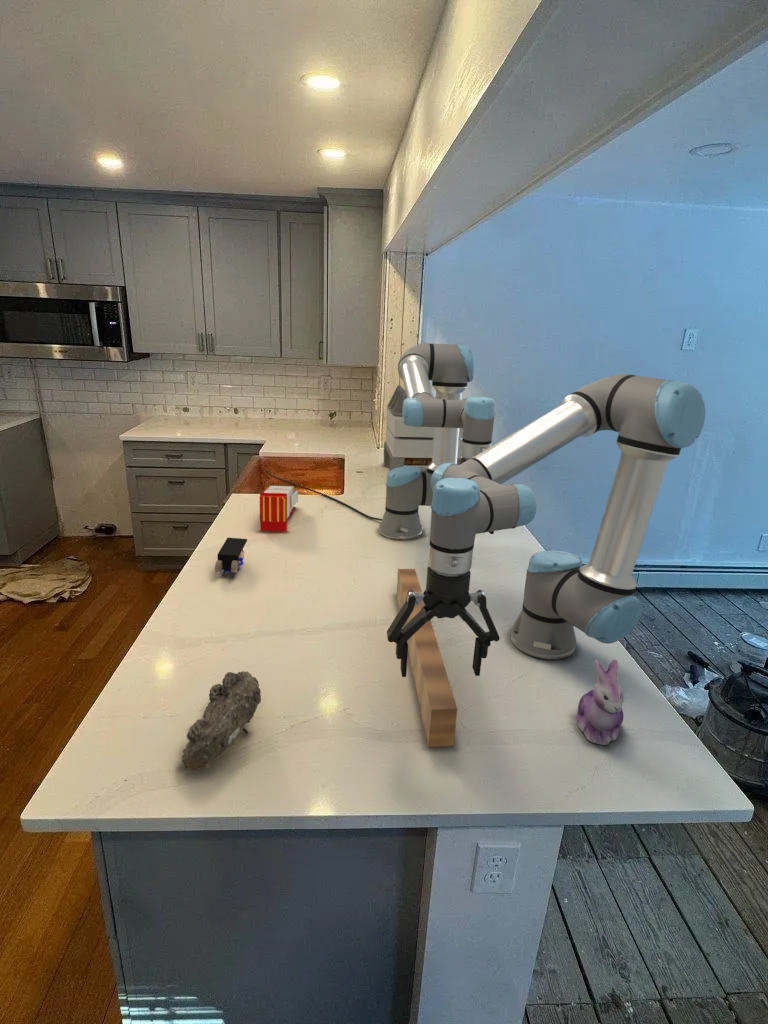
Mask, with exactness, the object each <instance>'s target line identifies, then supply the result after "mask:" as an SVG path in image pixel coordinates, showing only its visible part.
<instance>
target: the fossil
mask: <svg viewBox="0 0 768 1024" xmlns="http://www.w3.org/2000/svg"><path fill="white" fill-rule="evenodd" d="M261 693H262V691H261V688H260V684H259V680H258V679H257V677H256V676H253V675H252V674H251V673H250V672H249V671H243V670H242V671H238V672H233V671H228V672H226V673H225V674H224V677H223V678H222V684H221V683H217V684H213V685H212V686H211V688H210V689H209V693H208V697H209V699H208V700H209V702H208V703H207V706H206V707H205V710H204V712H203V714H202V719H196V721H195V722H194V723H193V724H192V725H191V726H190V727H189V730H188V732H187V734H186V739H187V740H188V743H187V744H186V746H185V748H183V750H182V755H181V758H182V759H181V761H182V766H183V768H188V769H189V770H190V771H194V770H198V769H204V768H205V769H209V768H210V767H211V766H212V765H213V764H214V763H215V762H216V761H217V760H218V759H219V758H221V756H222V755H223V754H224V753H225V752H226V751H227V750H228V749H229V748H230V747H231V746H232V745H234V743H235V742H236V740H237V737H238V736H240V734H241V733H242V732H243V733H244V734H245V735H248V734H249V731H248V730H247V729H246V728H245V727H246V724H248V723H250V722H251V720H252V719H253V717H254V716H255V713H256V711H257V710H258V709H257V708H258V706H259V704H261V702H262V695H261Z"/></svg>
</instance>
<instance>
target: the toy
mask: <svg viewBox="0 0 768 1024" xmlns="http://www.w3.org/2000/svg"><path fill="white" fill-rule="evenodd" d="M294 486H295V485H270V486H268V488H267V489H265V490H264V492H259V526H260V528H259V529H260V531H259V532H279V533H281V532H283V533H287V532H288V518H289V517H290V516H291V515H293V514H294V512H295V510H296V508H297V507H296V506H295V505H296V504H298V503H299V490H298V489H297V490H295V491H294Z"/></svg>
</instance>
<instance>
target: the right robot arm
mask: <svg viewBox="0 0 768 1024" xmlns="http://www.w3.org/2000/svg"><path fill="white" fill-rule="evenodd" d="M705 421H706V403H705V401H704V399H703V396H702V393H701V392H700V390H698V388H696V387H695V386H694V385H693V384H690V383H686V382H681V381H677V380H675V379H665V378H664V379H663V378H656V377H648V376H642V375H641V376H640V375H635V374H628V373H624V374H615V375H610V376H606V377H604V378H601V379H598V380H595V381H593V382H591V383H588V384H586V385H584V386H583V387H580V388H578V389H577V390H575V391H573V392H571V393H570V394H568V395H566V396H565V397H564V398H563V399H562V400H561V403H560V405H558V406H557V407H555V408H554V409H552V410H550V411H549V412H547V413H545V414H543V415H542V416H540V417H538V418H537V419H535V420H533V421H531V422H530V423H528V424H527V425H525V426H523V427H522V428H520V429H518V430H517V431H515V432H513V433H511V434H510V435H508V436H506V437H504V438H503V439H501V440H499V441H498V442H496V443H494V444H493V445H491V447H489V448H488V449H486V450H484V451H483V452H481V453H479V454H478V455H476V456H474V457H473V458H471V459H469V460H467V461H465V462H464V463H462V464H460V465H458V464H455V463H454V464H453V463H444V464H442V465H440V466H439V467H438V468H437V469H436V470H435V471H434V473H433V475H432V478H431V487H432V491H433V499H432V505H431V506H430V510H431V511H430V512H431V513H430V527H429V528H430V529H429V543H428V553H427V568H426V580H425V589H424V591H423V592H422V594H421V593H414V591H413V590H409V591H408V592H407V597H406V601H405V603H404V604H403V606H402V608H401V609H400V610H399V611H398V613H397V614H396V616H395V617H394V619H393V620H392V622H391V624H390V625H389V627H388V628H387V631H386V636H387V637H386V638H387V642H389V643H394V644H396V645H395V655H396V656H395V657H396V659H397V660H400V673H401V678H407V671H408V657H409V653H408V643H407V641H408V640H409V639H410V638H411V637H412V636H413V635H414V634H415V633H416V632H417V631H418V630H419V629H420V628H421V627H422V626H423V625H424V624H425V623H426V622H427V621H430V620H431V621H432V620H433V618H435V617H436V618H437V619H444V618H448V619H455V618H456V617H458V616H459V617H460V619H461V620H462V621H463V622H465V624H466V625H467V626H468V627H469V628H470V630H471V631H472V632H473V633H474V635H476V637H475V639H474V640H475V641H474V647H473V648H474V649H473V658H472V666H471V667H472V670H473V673H474V675H475V677H480V675H481V669H482V667H481V666H482V660H483V659H487V657H488V652H489V647H490V646H491V644H492V643H491V642H498V641H500V639H501V637H500V635H499V632H498V631H497V628H496V626H495V623H494V621H493V618H492V616H491V615H490V612H489V609H488V607H487V597H486V595H485V593H484V591H483V589H478V590H476V592H471V593H470V585H471V576H472V572H471V569H472V566H473V565H472V564H473V554H474V547H475V540H476V535H478V534H485V533H489V532H490V531H494V532H497V531H502V530H509V529H511V530H513V529H516V528H518V527H519V528H520V527H523V526H527V525H529V524H531V522H532V521H533V520H534V518H535V516H536V513H537V512H536V511H537V499H536V495H535V493H534V491H532V489H531V488H530V487H529V486H527V485H525V484H521V483H520V484H518V483H517V484H514V483H510V484H508V485H507V484H504V483H506V482H508V481H510V480H511V479H513V478H514V477H516V476H518V475H519V474H521V473H523V472H524V471H525V470H527V469H530V467H532V466H534V465H536V464H537V463H538V462H540V461H542V460H544V459H546V458H547V457H548V456H550V455H552V454H553V453H555V452H557V451H558V450H560V449H562V448H563V447H565V446H567V445H568V444H570V443H572V442H573V441H575V440H576V439H577V438H580V437H583V438H587V437H591V436H592V435H594V434H596V433H597V432H601V431H613V432H616V433H618V435H617V439H616V441H615V442H616V443H615V444H616V445H617V447H618V448H619V450H620V452H621V453H620V457H619V460H618V464H617V467H616V470H615V475H614V477H613V481H612V484H611V488H610V491H609V494H608V497H607V502H606V504H605V507H604V511H603V514H602V518H601V521H600V525H599V528H598V532H597V534H596V538H595V542H594V545H593V548H592V551H591V556H590V558H589V561H588V562H587V563H585V564H584V563H583V560H582V557H580V556H579V555H578V554H574V553H572V552H568V551H562V550H544V551H539V552H536V553H534V554H533V555H531V556H530V558H529V561H528V565H527V568H526V574H525V584H524V592H523V600H522V607H521V609H520V612H519V614H518V616H517V618H516V619H515V622H514V623H513V625H512V627H511V629H510V630H511V631H510V641H511V643H512V644H513V646H514V647H515V648H517V650H519V651H521V652H522V653H524V654H526V655H528V656H530V657H533V658H536V659H540V660H541V659H542V660H548V661H556V660H557V661H558V660H565V659H567V658H570V657H571V656H572V655H573V654H574V653H575V651H576V646H577V638H576V632H575V628H576V629H578V630H579V631H580V632H582V633H584V634H585V635H586V636H587V637H589V638H592V639H594V640H596V641H598V642H599V643H602V644H609V645H610V644H613V643H614V644H615V643H617V642H619V641H621V640H623V639H624V638H625V637H626V636H628V635H629V634H630V633H631V632H632V631H633V630H634V629H635V627H636V626H637V624H638V623H639V621H640V619H641V616H642V613H643V606H642V602H641V600H639V598H638V597H636V596H635V593H636V589H637V586H638V583H637V581H636V580H635V578H634V576H633V572H634V569H635V566H636V564H637V559H638V557H639V554H640V550H641V548H642V545H643V542H644V538H645V535H646V532H647V529H648V525H649V523H650V519H651V516H652V513H653V510H654V506H655V503H656V500H657V498H658V494H659V491H660V488H661V486H662V481H663V478H664V477H665V476H664V475H665V471H666V469H667V465H668V464H669V463H670V462H671V461H673V460H675V459H676V458H678V457H679V456H680V454H681V451H682V449H684V448H688V447H690V446H692V445H693V444H694V443H695V442H696V439H698V438H699V437H700V435H701V434H702V431H703V428H704V426H705ZM421 601H423V602H424V604H425V605H424V606H423V607H422V608H421V610H420V612H419V613H418V614H416V615H415V616H414V617H413V618H412V619H411V620H410V621H409V622H408V623H407V624H406V625H405V626H404V624H405V623H406V621H407V620H408V618H409V616H410V615H411V613H412V611H413V609H414V606H417V605H418V604H419V602H421ZM471 602H473V604H474V605H475V606H477V607H478V609H479V612H480V614H481V615H482V617H483V618H482V619H483V620H484V623H485V624H486V627H487V629H488V631H485V630H484V628H483V627H482V626H481V625H480V624H479V622H477V620H476V619H475V618H474V617H473V616H472V614H471V613H470V612H469V611H468V609H467V607H468V605H469V604H470V603H471ZM403 626H404V627H403Z"/></svg>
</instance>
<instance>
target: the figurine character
mask: <svg viewBox="0 0 768 1024" xmlns="http://www.w3.org/2000/svg"><path fill="white" fill-rule="evenodd" d="M247 542H248V538H240V537H226V539H225V541H224V543H223V544H222V546H221V547H220V549H219V551H218V552H217V560H216V562H215V564H214V572H215V573H221V577H222V578H224V577H225V576H226V574H227V573H230V574H231V573H232V574H231V578H234V577H235V575H236V573H237V572H239V571H240V567H242V566H243V565H244V564H245V562H244V558H245V551H244V547H245V546H246V544H247Z"/></svg>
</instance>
